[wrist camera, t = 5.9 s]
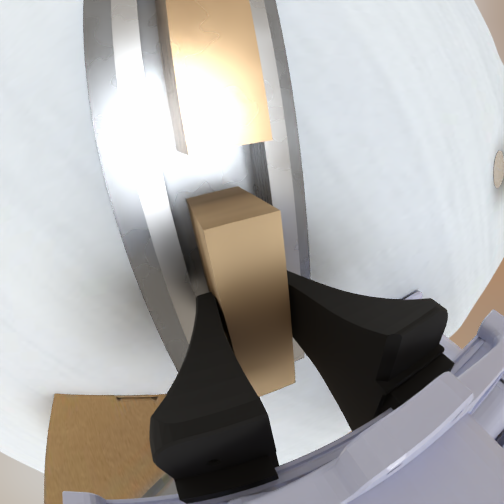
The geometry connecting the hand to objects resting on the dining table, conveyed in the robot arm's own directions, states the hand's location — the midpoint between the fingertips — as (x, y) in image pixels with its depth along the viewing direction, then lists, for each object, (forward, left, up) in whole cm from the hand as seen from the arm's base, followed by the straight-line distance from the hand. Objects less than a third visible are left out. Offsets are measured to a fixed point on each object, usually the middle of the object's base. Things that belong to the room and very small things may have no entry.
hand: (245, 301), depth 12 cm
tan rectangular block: (0, 0, -2) cm, 2 cm away
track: (+5, 0, -3) cm, 6 cm away
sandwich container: (-12, +9, -4) cm, 15 cm away
